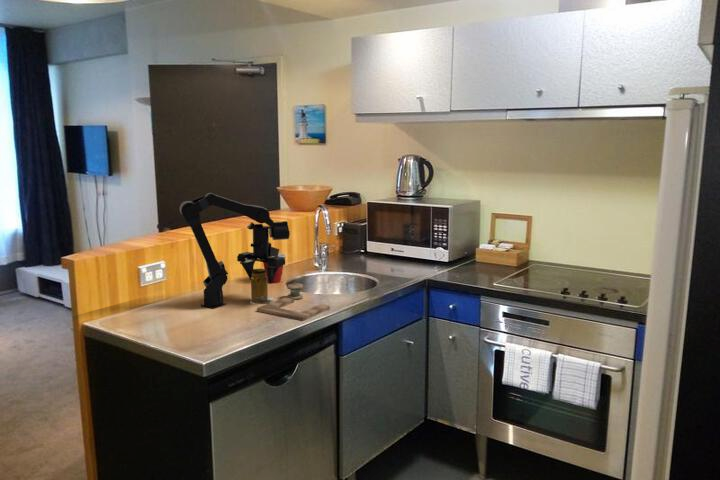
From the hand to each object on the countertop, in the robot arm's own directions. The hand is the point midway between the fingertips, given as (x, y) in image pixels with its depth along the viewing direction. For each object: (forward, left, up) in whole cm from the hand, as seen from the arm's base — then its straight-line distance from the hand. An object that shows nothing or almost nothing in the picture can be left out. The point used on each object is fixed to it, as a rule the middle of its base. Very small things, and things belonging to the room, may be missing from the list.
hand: (261, 281), depth 217 cm
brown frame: (-3, -17, -7) cm, 19 cm away
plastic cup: (+26, +15, -8) cm, 31 cm away
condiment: (0, 0, -8) cm, 8 cm away
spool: (+10, -8, -7) cm, 15 cm away
